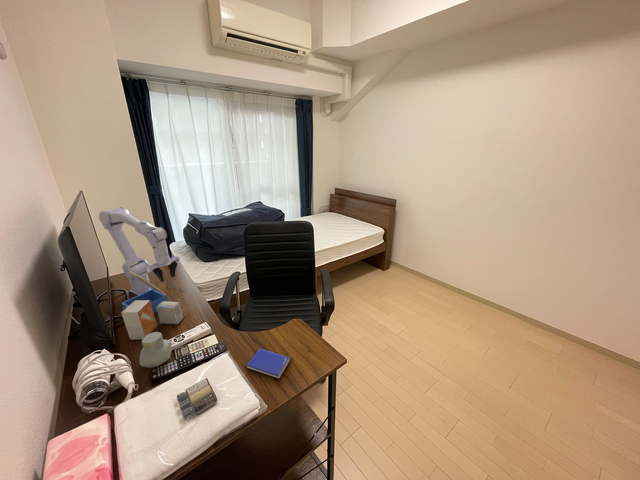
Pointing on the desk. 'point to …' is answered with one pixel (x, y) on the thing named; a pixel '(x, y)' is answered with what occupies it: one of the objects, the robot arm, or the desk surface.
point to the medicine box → (169, 312)
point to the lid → (147, 283)
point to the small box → (139, 319)
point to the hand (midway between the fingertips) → (167, 278)
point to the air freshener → (154, 350)
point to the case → (150, 295)
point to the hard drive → (268, 363)
